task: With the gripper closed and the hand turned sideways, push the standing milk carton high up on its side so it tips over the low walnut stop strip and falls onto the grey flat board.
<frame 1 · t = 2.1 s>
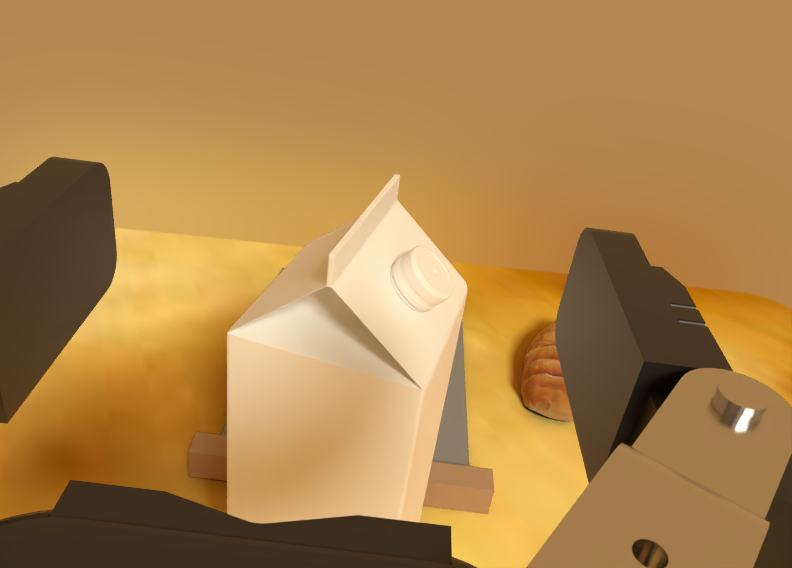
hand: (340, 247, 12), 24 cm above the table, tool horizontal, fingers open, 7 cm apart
grey flat board: (359, 363, 48), on the table
milk carton: (327, 567, 35), on the table
pastry: (570, 385, 49), on the table
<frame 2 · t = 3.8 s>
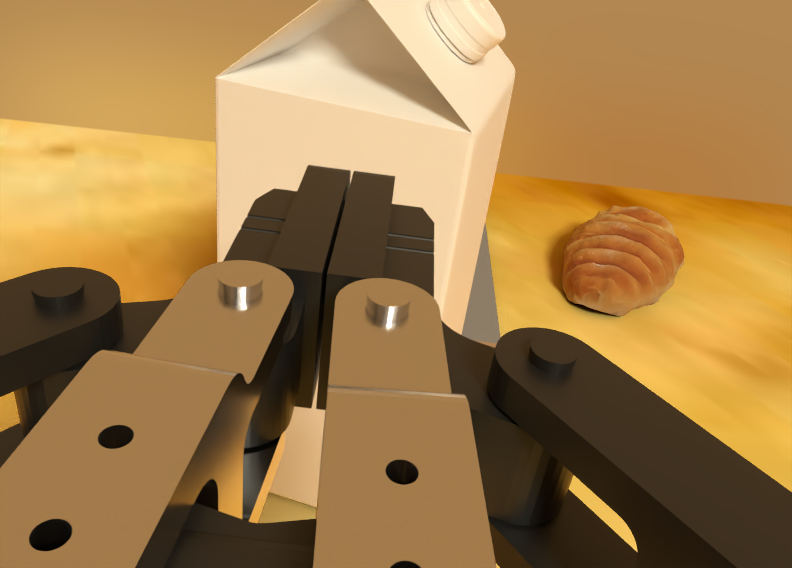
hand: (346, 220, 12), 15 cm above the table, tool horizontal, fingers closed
grey flat board: (371, 255, 42), on the table
milk carton: (340, 448, 29), on the table
pastry: (615, 284, 44), on the table
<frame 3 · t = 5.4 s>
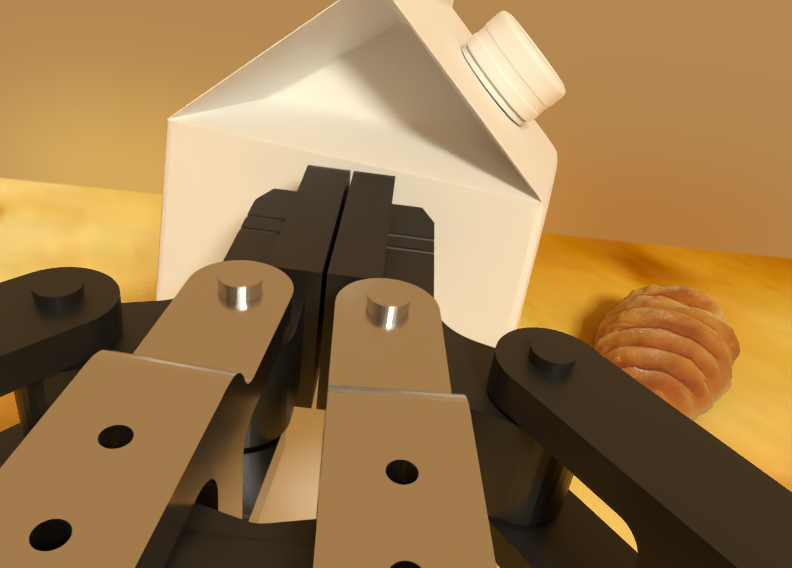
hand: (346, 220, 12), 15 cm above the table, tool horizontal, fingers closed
pastry: (655, 381, 36), on the table
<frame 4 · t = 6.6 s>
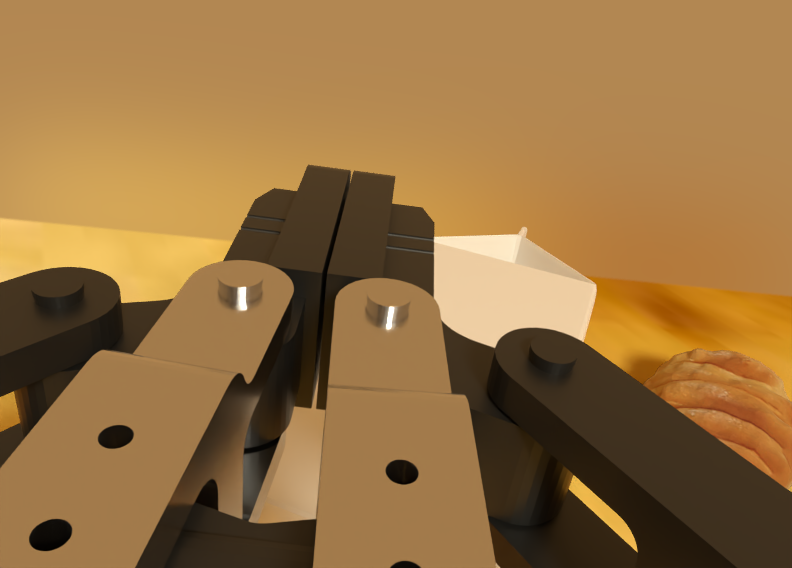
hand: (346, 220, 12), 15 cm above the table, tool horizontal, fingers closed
pastry: (704, 465, 31), on the table
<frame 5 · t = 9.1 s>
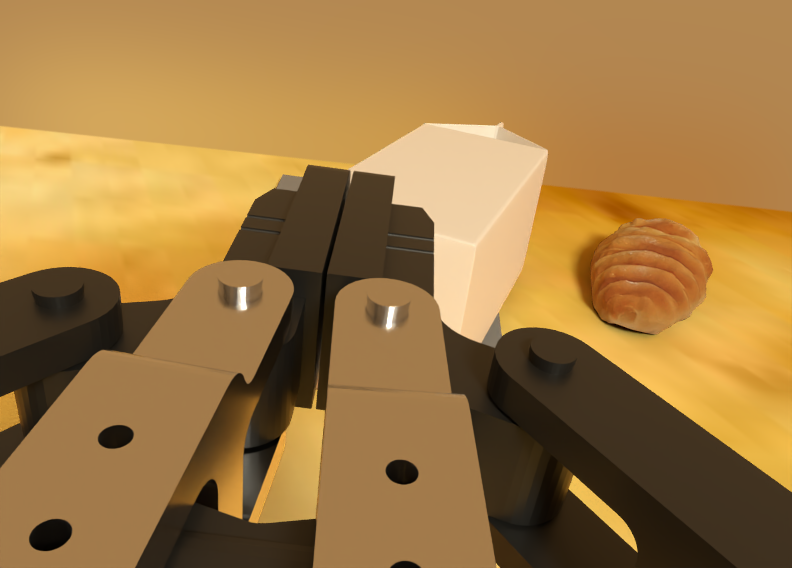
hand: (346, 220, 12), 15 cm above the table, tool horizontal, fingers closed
grey flat board: (371, 266, 41), on the table
milk carton: (369, 310, 27), point 6 cm above the table, touching grey flat board
pastry: (643, 299, 43), on the table
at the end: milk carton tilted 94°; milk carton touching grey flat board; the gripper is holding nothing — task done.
